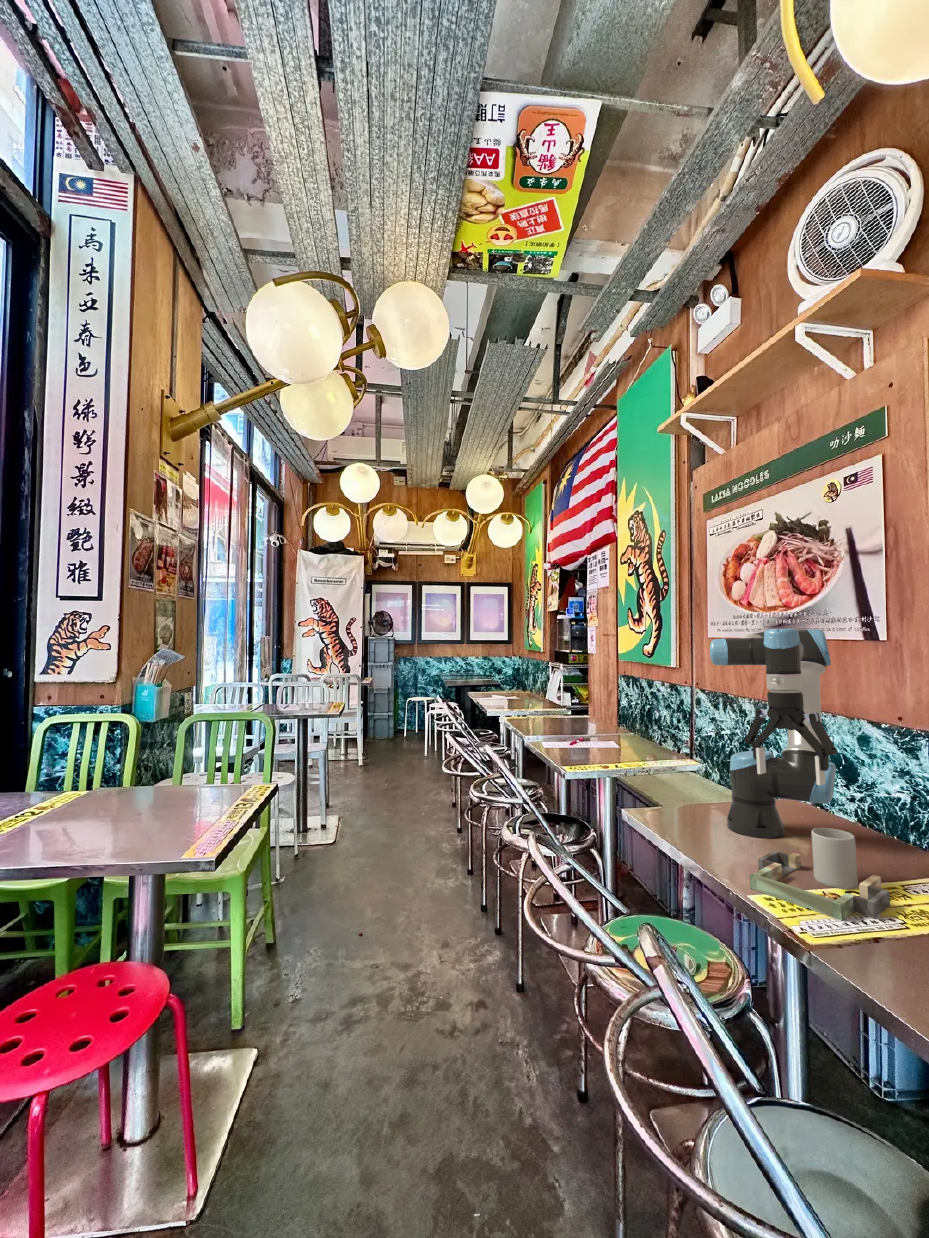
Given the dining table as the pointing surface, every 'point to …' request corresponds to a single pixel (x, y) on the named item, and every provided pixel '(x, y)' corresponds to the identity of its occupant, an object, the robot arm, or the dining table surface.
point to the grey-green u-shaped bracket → (782, 864)
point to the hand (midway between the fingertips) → (790, 778)
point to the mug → (834, 858)
